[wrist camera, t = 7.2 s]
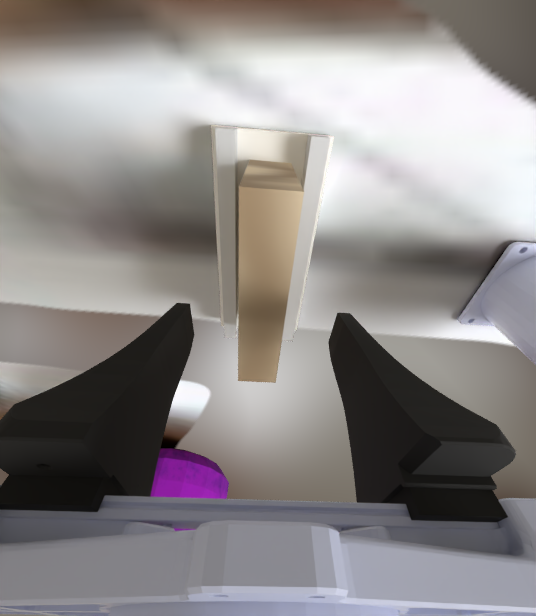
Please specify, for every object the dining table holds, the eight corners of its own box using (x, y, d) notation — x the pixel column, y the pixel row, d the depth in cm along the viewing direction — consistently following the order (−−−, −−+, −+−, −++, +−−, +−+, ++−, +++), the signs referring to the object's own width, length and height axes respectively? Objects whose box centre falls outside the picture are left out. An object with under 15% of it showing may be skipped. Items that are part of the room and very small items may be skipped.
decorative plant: (91, 448, 41) (-155, 918, 17) (178, 418, 35) (-10, 1060, 11) (173, 485, 51) (90, 815, 27) (252, 466, 45) (234, 863, 21)
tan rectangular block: (291, 163, 15) (304, 191, 10) (273, 316, 23) (275, 382, 17) (249, 159, 15) (239, 186, 10) (245, 314, 22) (238, 380, 17)
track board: (330, 135, 15) (339, 138, 13) (295, 323, 24) (298, 341, 22) (213, 124, 15) (205, 126, 13) (222, 319, 24) (218, 337, 22)
